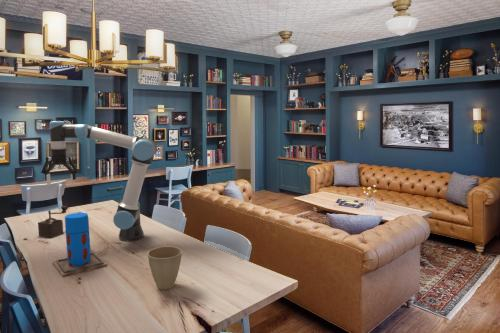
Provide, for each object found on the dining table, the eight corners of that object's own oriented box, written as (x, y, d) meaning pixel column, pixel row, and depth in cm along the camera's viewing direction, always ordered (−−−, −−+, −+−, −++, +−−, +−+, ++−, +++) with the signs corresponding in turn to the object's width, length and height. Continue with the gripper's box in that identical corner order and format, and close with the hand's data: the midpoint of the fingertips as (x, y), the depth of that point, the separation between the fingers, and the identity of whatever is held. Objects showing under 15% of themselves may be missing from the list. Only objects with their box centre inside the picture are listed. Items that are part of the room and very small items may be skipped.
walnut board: (94, 254, 206) (94, 251, 206) (107, 266, 190) (107, 262, 190) (52, 263, 193) (52, 260, 193) (62, 277, 177) (62, 273, 177)
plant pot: (151, 296, 158) (150, 260, 156) (146, 282, 171) (145, 249, 169) (186, 289, 164) (185, 255, 162) (178, 276, 177) (177, 244, 175)
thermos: (76, 268, 185) (73, 219, 181) (63, 264, 190) (59, 216, 186) (95, 261, 194) (92, 214, 191) (82, 257, 199) (79, 211, 196)
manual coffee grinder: (51, 238, 234) (49, 210, 232) (38, 236, 238) (36, 209, 235) (70, 231, 248) (69, 205, 246) (58, 229, 252) (56, 204, 250)
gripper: (83, 147, 215) (85, 183, 218) (39, 148, 215) (42, 184, 217) (78, 148, 208) (80, 186, 211) (32, 149, 207) (35, 186, 210)
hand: (61, 185), depth 214 cm, fingers open, 13 cm apart
